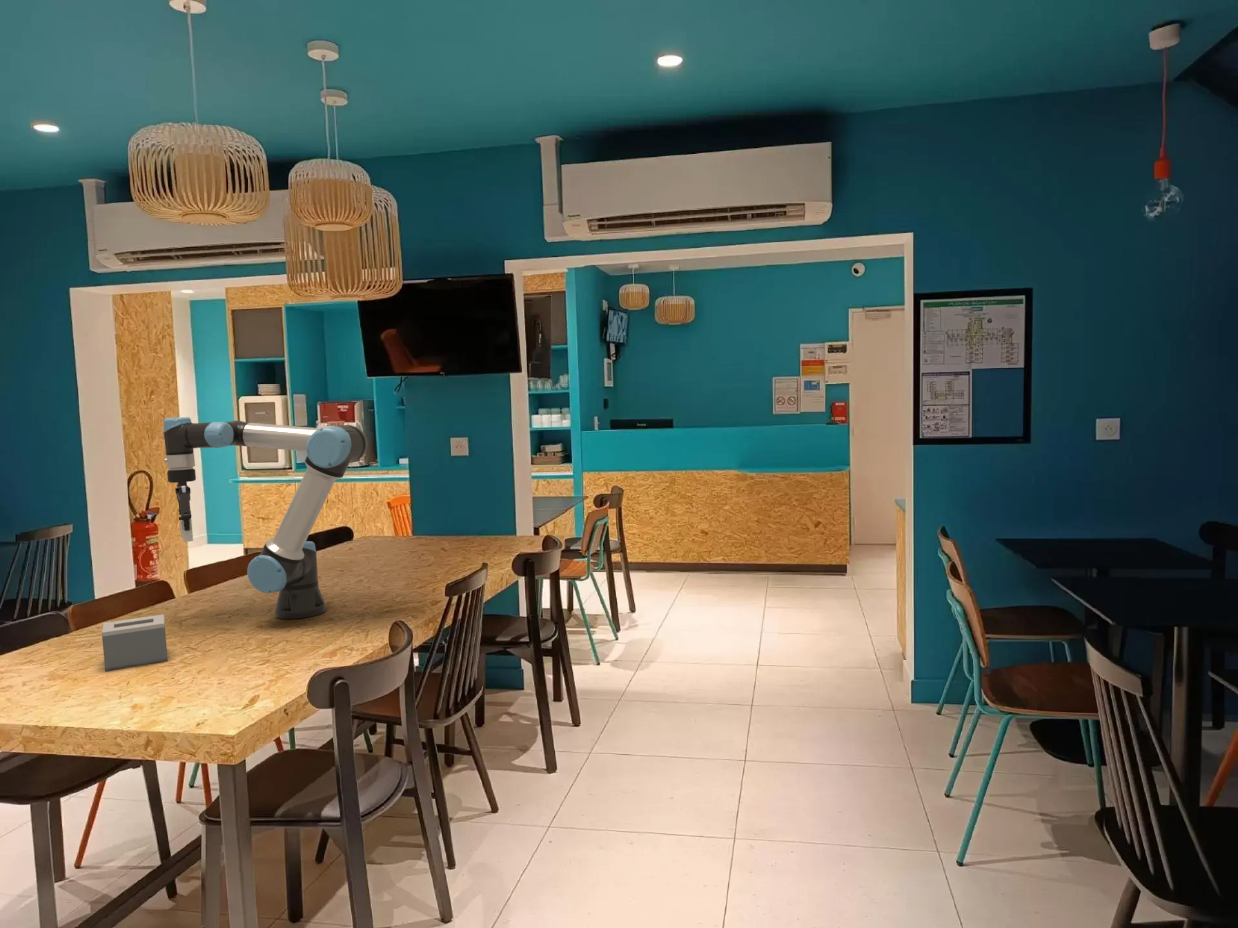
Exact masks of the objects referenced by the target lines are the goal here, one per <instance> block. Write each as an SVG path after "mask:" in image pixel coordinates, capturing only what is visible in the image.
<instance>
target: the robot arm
mask: <svg viewBox="0 0 1238 928" xmlns="http://www.w3.org/2000/svg"><path fill="white" fill-rule="evenodd" d="M191 419H192V418H191V417H189V416H184V417H180V416H179V417H166V418H164V420H163V422H162V423H163V431H162V433H163V434H162V435H163V439H164V446H165V447H164V448H165V457H166V458H164V459H163V462H164V463H166V468H167V469H168V470H167V471H166V472H167V473H166V474H167V482H168V483H170V484H171V483H173V484H175V483H176V487H175V489H174V490H175V495H176V500H177V502H178V514H179V515H178V521H179V528H180V537H182V543H185V542H186V543H187V542H194V534H193V533H194V532H193V524H192V523H193V521H192V510H191V503H190V501H191V493H192V492H191V491H192V490H191V487H189V485H188V482H195V481H196V480H197V475H196V469H195V468H194V467H195V466H196V462H195V452H194V451H195V450H194V449H210V448H215V449H218V448H219V449H220V448H226V447H230V446H237V447H252V448H261V449H262V448H263V449H272V450H273V449H275V450H284V451H285V450H286V451H295V452H307V453H306V454H307V455H306V457H305V459H304V463H305V465H306V466H305V467H306V469H305V470H306V471H305V472H304V474H303V476H302V479H301V481H300V482H299V485H298V487H297V488H296V490H295V493H294V496H293V497H292V499H291V502H290V504H289V506H288V508H287V510H286V512H285V514H284V516H283V518H282V519H281V522H280V525H279V527H278V529H277V530H276V533H275V535H274V537H273V538H269V539H268V540H266V541H265V543H264V546H263V547H262V549H261V552H260V554H259V555H257V556H255V557H254V558H252V559H251V560H250V562H249V563H248V565H247V570H246V571H247V573H246V574H247V577H248V579H249V583H250V584H251V586H252V587H254V589H255V590H257V591H259V592H260V593H263V594H272V593H273V594H274V593H278V592H279V593H278V595H277V600H276V603H275V608H274V617H275V618H276V619H282V620H296V619H297V620H298V619H303V618H304V619H305V618H311V617H315V616H319V615H321V614H323V613H325V612H326V611H327V605H326V601H325V599H324V597H323V595H322V593H321V590H320V586H319V577H318V562H317V561H318V559H317V558H318V557H317V550H316V544H315V542H314V541H312V540H311V541H309V540H308V537H309V535H310V533H311V531H312V529H313V527H314V525H315V523H316V520H317V519H318V517H319V515H320V512H321V510H322V508H323V506H324V505H325V503H326V500H327V498H328V496H329V494H330V492H331V490H332V488H333V486H334V485H335V482H336V481H337V480H339V479H342V478H343V477H344V475H345V473H346V471H347V469H348V467H349V465H350V464H352V463H356V462H358V461H359V460H361V459H362V458H364V456H365V454H366V452H367V449H368V438H367V436H366V435H365V433H364V432H363V431H362V429H360V428H359V427H357V426H354V425H352V424H351V425H350V424H345V425H343V424H342V425H327V426H323V427H321V428H319V427H310V426H309V427H306V426H294V425H286V424H285V425H283V424H271V423H268V424H267V423H262V422H261V423H259V422H246V421H243V420H232V421H211V422H210V421H209V422H198V423H197V422H196V423H195V422H194V423H193V422H192V420H191ZM307 540H308V541H307Z"/></svg>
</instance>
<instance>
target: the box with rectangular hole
mask: <svg viewBox="0 0 1238 928" xmlns="http://www.w3.org/2000/svg"><path fill="white" fill-rule="evenodd" d="M165 624H166V623H165V615H164V614H156V615H149V616H143V617H142V616H141V617H136V618H130V619H129V618H128V619H123V620H122V619H121V620H115V621H107V622H103V624H102V625H103V626H102V630H101V637H102V639H101V640H102V649H103V659H104V660H103V661H104V670H105V672H110V671H111V672H112V671H117V670H122V669H128V668H134V667H140V666H145V665H146V666H147V665H152V664H153V665H154V664H158V663H165V662H168V661H169V659H168V647H167V637H166V625H165Z"/></svg>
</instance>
